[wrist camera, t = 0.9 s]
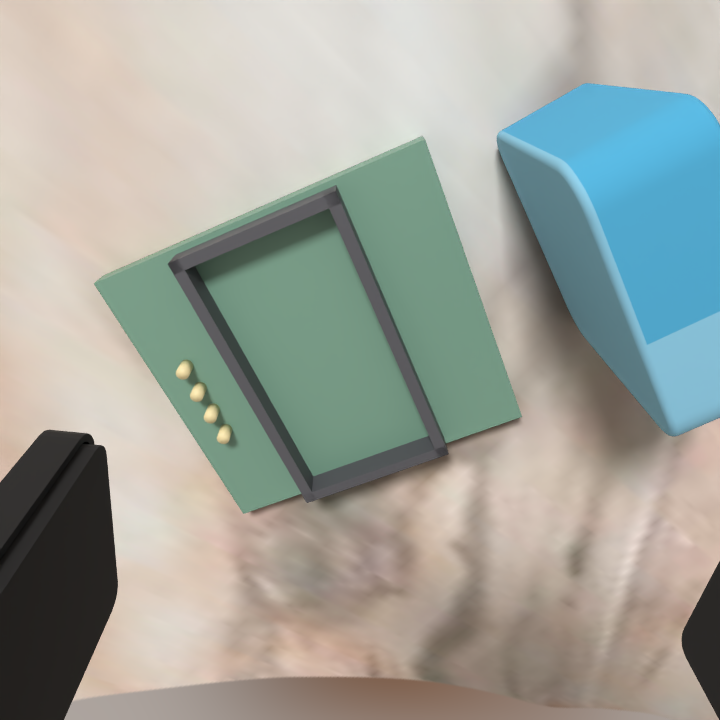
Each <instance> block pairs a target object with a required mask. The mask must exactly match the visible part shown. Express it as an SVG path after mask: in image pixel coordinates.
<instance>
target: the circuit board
mask: <svg viewBox="0 0 720 720" xmlns="http://www.w3.org/2000/svg"><path fill="white" fill-rule="evenodd" d="M94 285H95V286H96V288H97V289H98V291H99V292H100V294H101V295H102V297H103V298H104V300H105V302H106V303H107V305H108V306H109V308H110V309H111V311H112V312H113V314H114V315H115V317H116V318H117V320H118V322H119V323H120V325H121V326H122V328H123V329H124V331H125V332H126V334H127V335H128V337H129V338H130V340H131V342H132V343H133V345H134V346H135V348H136V349H137V351H138V352H139V354H140V355H141V357H142V358H143V360H144V362H145V363H146V365H147V366H148V368H149V369H150V371H151V372H152V374H153V375H154V377H155V378H156V380H157V382H158V383H159V385H160V386H161V388H162V389H163V391H164V392H165V394H166V395H167V397H168V398H169V400H170V402H171V403H172V405H173V406H174V408H175V409H176V411H177V412H178V414H179V415H180V417H181V418H182V420H183V421H184V423H185V425H186V426H187V428H188V429H189V431H190V432H191V434H192V435H193V437H194V438H195V440H196V441H197V443H198V445H199V446H200V448H201V449H202V451H203V452H204V454H205V455H206V457H207V458H208V460H209V461H210V463H211V465H212V466H213V468H214V469H215V471H216V472H217V474H218V475H219V477H220V478H221V480H222V481H223V483H224V485H225V486H226V488H227V489H228V491H229V492H230V494H231V495H232V497H233V498H234V500H235V501H236V503H237V505H238V506H239V508H240V509H241V511H242V512H243V514H244V513H247V512H250V511H253V510H256V509H259V508H262V507H264V506H267V505H270V504H273V503H276V502H279V501H282V500H284V499H287V498H290V497H293V496H296V495H299V494H302V495H303V497H304V499H305V501H306V502H307V503H308V502H311V501H314V500H317V499H320V498H323V497H326V496H329V495H332V494H334V493H337V492H340V491H343V490H346V489H349V488H352V487H355V486H358V485H361V484H363V483H366V482H369V481H372V480H375V479H378V478H381V477H384V476H387V475H390V474H392V473H395V472H398V471H401V470H404V469H407V468H410V467H413V466H416V465H419V464H421V463H424V462H427V461H430V460H433V459H436V458H439V457H442V456H445V455H448V450H447V446H446V443H448V442H451V441H454V440H457V439H460V438H463V437H465V436H468V435H471V434H474V433H477V432H480V431H483V430H486V429H488V428H491V427H494V426H497V425H500V424H503V423H506V422H508V421H511V420H514V419H517V418H520V417H522V415H521V412H520V410H519V407H518V404H517V401H516V398H515V395H514V392H513V390H512V387H511V384H510V381H509V378H508V375H507V372H506V370H505V367H504V364H503V361H502V358H501V355H500V353H499V350H498V347H497V344H496V341H495V338H494V335H493V333H492V330H491V327H490V324H489V321H488V318H487V315H486V313H485V310H484V307H483V304H482V301H481V298H480V295H479V293H478V290H477V287H476V284H475V281H474V278H473V275H472V273H471V270H470V267H469V264H468V261H467V258H466V255H465V253H464V250H463V247H462V244H461V241H460V238H459V235H458V233H457V230H456V227H455V224H454V221H453V218H452V215H451V213H450V210H449V207H448V204H447V201H446V198H445V195H444V193H443V190H442V187H441V184H440V181H439V178H438V175H437V173H436V170H435V167H434V164H433V161H432V158H431V155H430V153H429V150H428V147H427V144H426V141H425V139H424V138H423V137H419V138H417V139H415V140H412V141H410V142H408V143H406V144H403V145H401V146H399V147H396V148H394V149H392V150H390V151H387V152H385V153H383V154H380V155H378V156H376V157H374V158H371V159H369V160H367V161H364V162H362V163H360V164H358V165H355V166H353V167H351V168H348V169H346V170H344V171H342V172H339V173H337V174H335V175H332V176H330V177H328V178H326V179H323V180H321V181H319V182H316V183H314V184H312V185H309V186H307V187H305V188H303V189H300V190H298V191H296V192H293V193H291V194H289V195H287V196H284V197H282V198H280V199H277V200H275V201H273V202H271V203H268V204H266V205H264V206H261V207H259V208H257V209H255V210H252V211H250V212H248V213H245V214H243V215H241V216H239V217H236V218H234V219H232V220H229V221H227V222H225V223H223V224H220V225H218V226H216V227H213V228H211V229H209V230H207V231H204V232H202V233H200V234H197V235H195V236H193V237H191V238H188V239H186V240H184V241H181V242H179V243H177V244H175V245H172V246H170V247H168V248H165V249H163V250H161V251H159V252H156V253H154V254H152V255H149V256H147V257H145V258H143V259H140V260H138V261H136V262H133V263H131V264H129V265H127V266H124V267H122V268H120V269H117V270H115V271H113V272H111V273H108V274H106V275H104V276H102V277H101V278H100V279H99V280H97V281H96V282H95V283H94Z"/></svg>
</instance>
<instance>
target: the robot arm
mask: <svg viewBox="0 0 720 720" xmlns="http://www.w3.org/2000/svg"><path fill="white" fill-rule="evenodd" d="M117 588H118V579H117V568H116V557H115V545H114V534H113V522H112V511H111V500H110V488H109V477H108V465H107V454H106V450H105V448H104V446H102V445H94V440H93V438H92V436H91V435H90V434H87V433H77V432H66V431H56V430H46V431H44V432H43V433H41V434H40V435H39V436H38V438H37V439H36V440H35V441H34V443H33V444H32V445H31V446H30V447H29V449H28V450H27V451H26V452H25V453H24V455H23V456H22V457H21V458H20V459H19V461H18V462H17V463H16V464H15V465H14V467H13V468H12V469H11V470H10V471H9V473H8V474H7V475H6V476H5V477H4V479H3V480H2V481H1V482H0V720H64V718H65V716H66V713H67V711H68V709H69V707H70V704H71V702H72V700H73V698H74V696H75V693H76V691H77V689H78V687H79V684H80V682H81V680H82V678H83V675H84V673H85V671H86V668H87V666H88V664H89V662H90V659H91V657H92V655H93V653H94V650H95V648H96V646H97V644H98V641H99V639H100V637H101V635H102V632H103V630H104V628H105V626H106V623H107V621H108V619H109V616H110V614H111V612H112V609H113V607H114V604H115V600H116V595H117ZM682 647H683V651H684V654H685V656H686V659H687V660H688V662H689V664H690V666H691V668H692V670H693V672H694V673H695V675H696V677H697V679H698V681H699V683H700V685H701V687H702V688H703V690H704V692H705V694H706V696H707V698H708V700H709V701H710V703H711V705H712V707H713V709H714V711H715V713H716V714H717V716H718V718H719V720H720V561H719V563H718V565H717V567H716V569H715V571H714V573H713V575H712V577H711V579H710V580H709V582H708V584H707V586H706V588H705V590H704V592H703V594H702V596H701V597H700V599H699V601H698V603H697V605H696V607H695V609H694V611H693V613H692V615H691V616H690V618H689V620H688V622H687V624H686V626H685V628H684V630H683V633H682Z"/></svg>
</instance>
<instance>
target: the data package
mask: <svg viewBox="0 0 720 720" xmlns="http://www.w3.org/2000/svg"><path fill="white" fill-rule="evenodd" d="M497 145H498V148H499V151H500V154H501V157H502V159H503V162H504V164H505V166H506V168H507V171H508V173H509V175H510V178H511V180H512V182H513V184H514V187H515V189H516V191H517V194H518V196H519V198H520V200H521V203H522V205H523V207H524V210H525V212H526V214H527V216H528V219H529V221H530V223H531V226H532V228H533V230H534V232H535V235H536V237H537V239H538V242H539V244H540V246H541V248H542V251H543V253H544V255H545V258H546V260H547V262H548V264H549V267H550V269H551V271H552V274H553V276H554V278H555V280H556V283H557V285H558V287H559V290H560V292H561V294H562V296H563V299H564V301H565V303H566V306H567V308H568V310H569V312H570V314H571V316H572V318H573V320H574V322H575V324H576V325H577V327H578V329H579V330H580V332H581V333H582V335H583V336H584V337H585V339H586V340H587V341H588V342H589V344H590V345H591V346H592V347H593V348H594V349H595V351H596V352H597V353H598V354H599V355H600V357H601V358H602V359H603V360H604V361H605V363H606V364H607V365H608V366H609V367H610V369H611V370H612V371H613V372H614V373H615V375H616V376H617V377H618V378H619V379H620V381H621V382H622V383H623V384H624V385H625V387H626V388H627V389H628V390H629V391H630V393H631V394H632V395H633V396H634V397H635V398H636V400H637V401H638V402H639V403H640V404H641V406H642V407H643V408H644V409H645V410H646V412H647V413H648V414H649V415H650V416H651V418H652V419H653V420H654V421H655V422H656V424H657V425H658V426H659V427H660V428H661V429H662V430H663V431H664V432H665V433H666V434H668V435H670V436H678V435H680V434H683V433H685V432H687V431H690V430H692V429H694V428H697V427H699V426H702V425H704V424H706V423H709V422H711V421H713V420H716V419H718V418H720V125H719V123H718V121H717V120H716V118H715V116H714V115H713V114H712V112H711V111H710V110H709V109H708V107H707V106H706V105H705V104H704V103H702V102H701V101H700V100H699V99H697V98H696V97H694V96H691V95H688V94H682V93H673V92H664V91H654V90H645V89H636V88H626V87H617V86H608V85H599V84H589V83H586V84H583V85H581V86H579V87H577V88H576V89H574V90H572V91H570V92H569V93H567V94H565V95H563V96H562V97H560V98H558V99H556V100H555V101H553V102H551V103H549V104H548V105H546V106H544V107H542V108H541V109H539V110H537V111H535V112H533V113H532V114H530V115H528V116H526V117H525V118H523V119H521V120H519V121H518V122H516V123H514V124H512V125H511V126H509V127H507V128H505V129H504V130H502V131H500V132H499V133H498V135H497Z"/></svg>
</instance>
